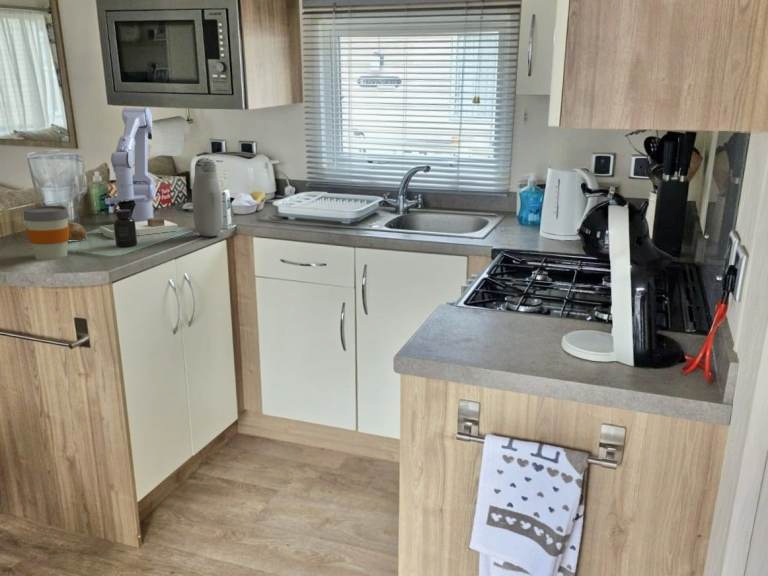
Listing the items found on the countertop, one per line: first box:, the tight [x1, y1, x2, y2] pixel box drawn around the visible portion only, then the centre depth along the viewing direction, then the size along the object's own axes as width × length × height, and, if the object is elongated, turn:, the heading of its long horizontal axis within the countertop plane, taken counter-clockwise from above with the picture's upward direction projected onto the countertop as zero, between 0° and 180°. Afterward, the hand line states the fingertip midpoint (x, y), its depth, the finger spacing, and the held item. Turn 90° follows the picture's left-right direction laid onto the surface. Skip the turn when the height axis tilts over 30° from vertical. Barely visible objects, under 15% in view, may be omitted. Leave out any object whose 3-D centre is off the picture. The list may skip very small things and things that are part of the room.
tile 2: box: [147, 216, 165, 227], centre depth 247 cm, size 4×4×2 cm
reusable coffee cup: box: [23, 205, 70, 261], centre depth 208 cm, size 13×13×15 cm
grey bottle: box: [191, 157, 223, 238], centre depth 239 cm, size 10×10×28 cm
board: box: [135, 219, 179, 236], centre depth 251 cm, size 14×15×2 cm
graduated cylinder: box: [221, 188, 233, 230], centre depth 255 cm, size 6×6×14 cm
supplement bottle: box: [113, 209, 138, 248], centre depth 225 cm, size 7×7×12 cm
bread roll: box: [68, 221, 88, 241], centre depth 234 cm, size 10×10×8 cm
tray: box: [98, 224, 139, 239], centre depth 243 cm, size 14×9×2 cm, turn 41°
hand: (128, 221), depth 248 cm, fingers closed
